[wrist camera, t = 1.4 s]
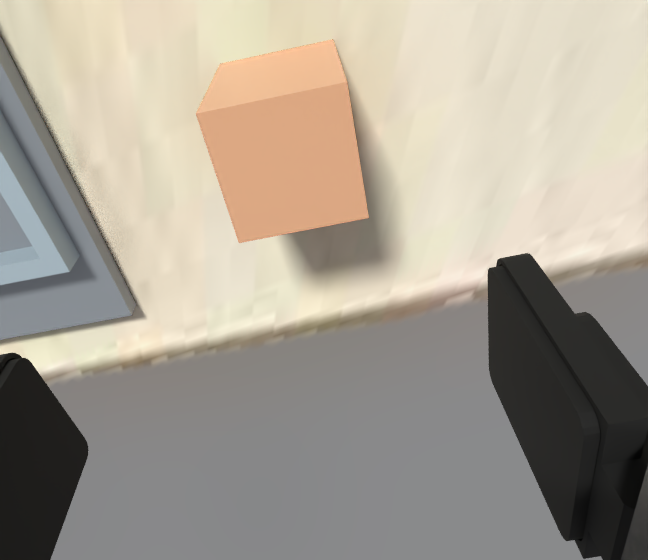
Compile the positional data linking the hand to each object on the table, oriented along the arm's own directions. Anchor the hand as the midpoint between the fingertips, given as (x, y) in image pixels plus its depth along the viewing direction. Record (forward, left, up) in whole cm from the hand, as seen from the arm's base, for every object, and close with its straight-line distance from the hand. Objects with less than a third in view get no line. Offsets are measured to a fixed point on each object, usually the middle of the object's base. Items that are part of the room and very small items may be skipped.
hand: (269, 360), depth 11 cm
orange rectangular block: (0, 0, -16) cm, 16 cm away
